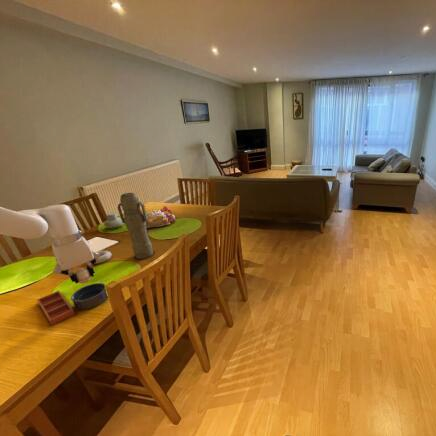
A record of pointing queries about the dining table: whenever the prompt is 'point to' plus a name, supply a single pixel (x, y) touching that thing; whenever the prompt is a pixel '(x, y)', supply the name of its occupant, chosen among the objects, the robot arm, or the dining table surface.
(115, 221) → the air freshener
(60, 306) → the brown compartment tray
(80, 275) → the egg
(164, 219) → the candy landscape model
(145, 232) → the grey tall piece
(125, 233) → the dining table surface
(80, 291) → the bowl
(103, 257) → the donut
